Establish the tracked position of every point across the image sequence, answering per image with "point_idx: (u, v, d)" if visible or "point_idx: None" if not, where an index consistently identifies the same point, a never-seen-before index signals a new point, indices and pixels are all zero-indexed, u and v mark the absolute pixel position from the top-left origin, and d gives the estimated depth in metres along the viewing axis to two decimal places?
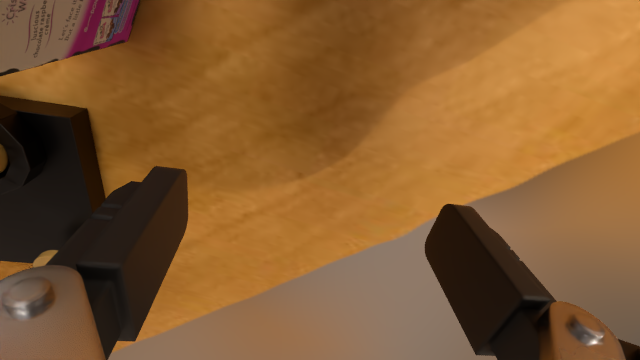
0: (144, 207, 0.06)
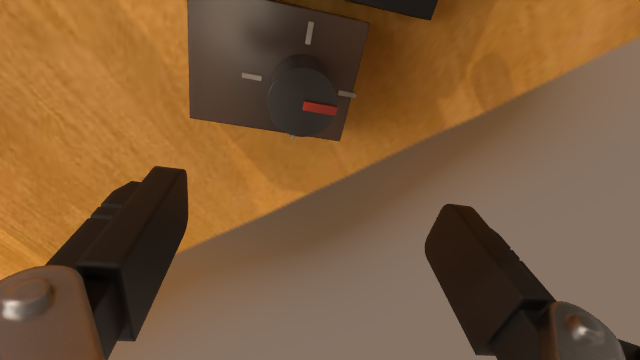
0: (144, 207, 0.06)
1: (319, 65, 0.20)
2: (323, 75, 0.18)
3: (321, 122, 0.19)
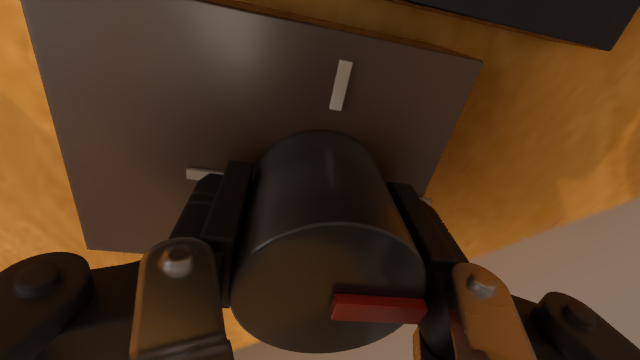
0: (234, 193, 0.07)
1: (368, 173, 0.08)
2: (396, 238, 0.06)
3: (376, 328, 0.07)
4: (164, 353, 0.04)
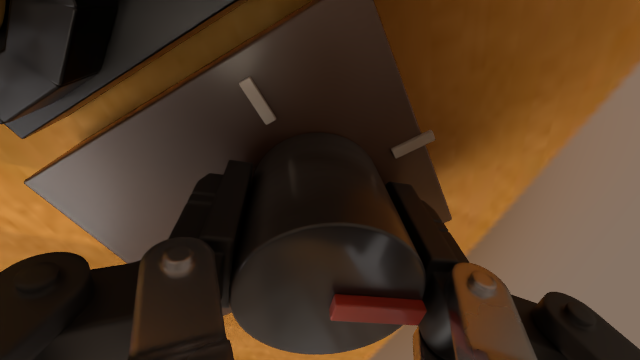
0: (234, 193, 0.07)
1: (368, 174, 0.08)
2: (396, 239, 0.06)
3: (375, 329, 0.07)
4: (164, 353, 0.04)
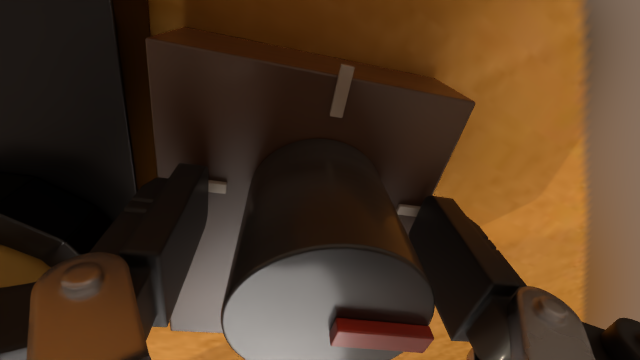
0: (174, 201, 0.07)
1: (375, 187, 0.07)
2: (407, 263, 0.05)
3: (376, 354, 0.07)
4: None
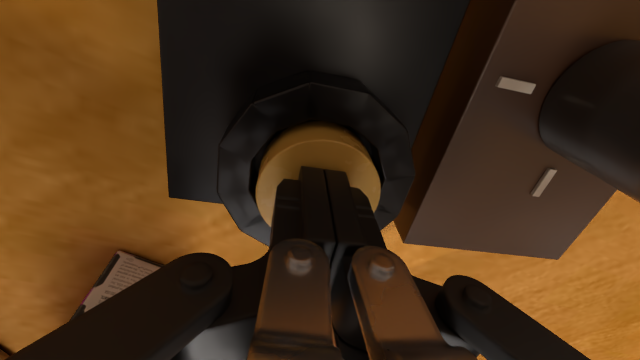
0: (319, 198, 0.08)
1: None
2: None
3: None
4: (281, 339, 0.04)
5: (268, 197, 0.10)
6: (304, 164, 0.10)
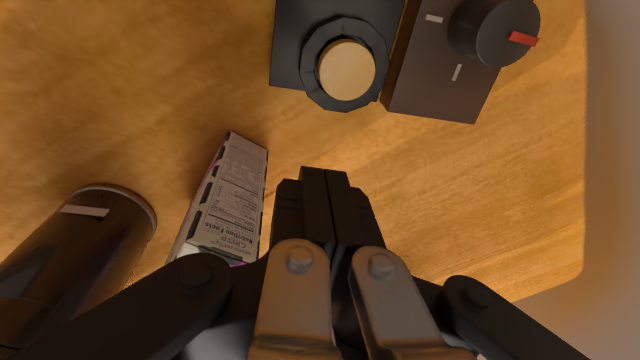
0: (319, 199, 0.08)
1: None
2: (535, 6, 0.20)
3: (517, 53, 0.21)
4: (281, 339, 0.04)
5: (325, 72, 0.23)
6: (341, 54, 0.22)
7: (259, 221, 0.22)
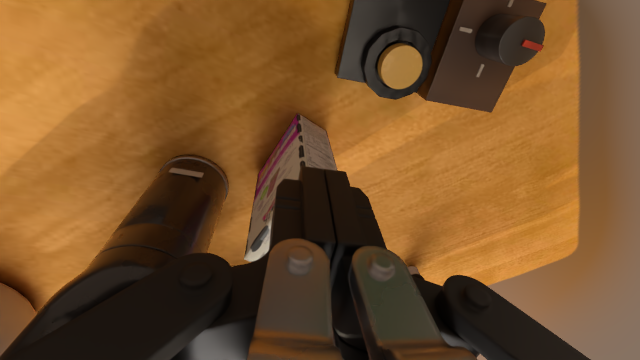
0: (319, 198, 0.08)
1: None
2: (541, 23, 0.28)
3: (527, 56, 0.30)
4: (281, 339, 0.04)
5: (385, 67, 0.31)
6: (399, 54, 0.31)
7: None
